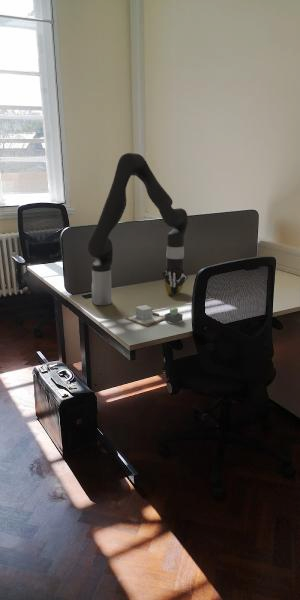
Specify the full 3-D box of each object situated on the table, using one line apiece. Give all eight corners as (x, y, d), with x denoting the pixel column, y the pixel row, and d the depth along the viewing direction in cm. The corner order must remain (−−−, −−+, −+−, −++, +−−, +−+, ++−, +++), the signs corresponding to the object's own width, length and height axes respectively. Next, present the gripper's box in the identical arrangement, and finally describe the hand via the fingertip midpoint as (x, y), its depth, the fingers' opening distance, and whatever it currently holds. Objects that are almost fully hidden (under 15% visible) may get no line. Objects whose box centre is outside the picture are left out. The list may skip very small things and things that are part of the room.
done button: (168, 317, 194) (168, 309, 192) (173, 315, 196) (173, 307, 195) (174, 319, 191) (174, 311, 190) (179, 317, 194) (179, 309, 193)
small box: (152, 318, 195) (152, 307, 194) (142, 320, 192) (142, 310, 190) (145, 314, 200) (145, 304, 198) (135, 316, 196) (135, 306, 195)
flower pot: (179, 296, 226) (180, 280, 223) (163, 295, 229) (164, 278, 226) (183, 292, 234) (184, 276, 231) (168, 290, 236) (168, 274, 234)
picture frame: (124, 318, 196) (124, 316, 195) (144, 311, 205) (144, 309, 205) (147, 327, 187) (147, 324, 187) (166, 318, 196) (166, 316, 196)
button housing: (164, 320, 194) (164, 314, 193) (172, 317, 198) (172, 311, 197) (174, 323, 191) (174, 317, 190) (182, 320, 194) (182, 314, 193)
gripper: (157, 255, 186) (157, 293, 192) (181, 260, 178) (180, 300, 183) (168, 252, 191) (168, 289, 197) (192, 257, 183) (191, 295, 189)
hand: (174, 294), depth 190 cm, fingers closed
